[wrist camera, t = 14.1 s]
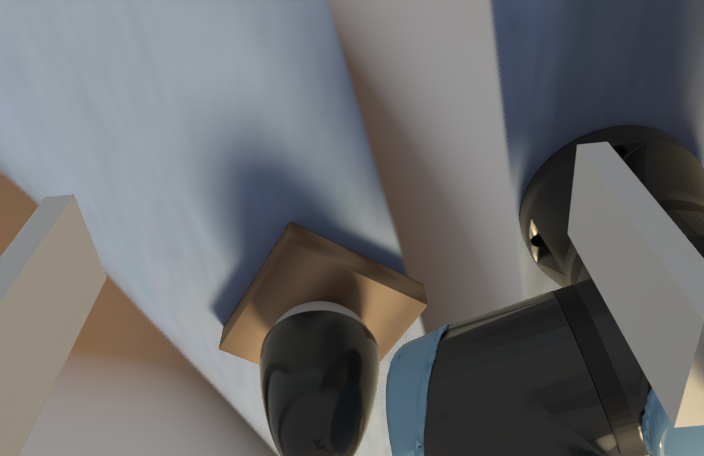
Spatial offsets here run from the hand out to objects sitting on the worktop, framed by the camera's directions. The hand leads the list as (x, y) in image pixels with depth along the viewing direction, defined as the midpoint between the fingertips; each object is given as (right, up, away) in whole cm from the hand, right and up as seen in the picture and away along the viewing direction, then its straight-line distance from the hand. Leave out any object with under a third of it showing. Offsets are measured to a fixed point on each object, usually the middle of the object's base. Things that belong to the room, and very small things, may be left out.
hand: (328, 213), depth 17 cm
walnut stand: (-2, -8, +43) cm, 44 cm away
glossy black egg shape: (-2, -9, +41) cm, 42 cm away
